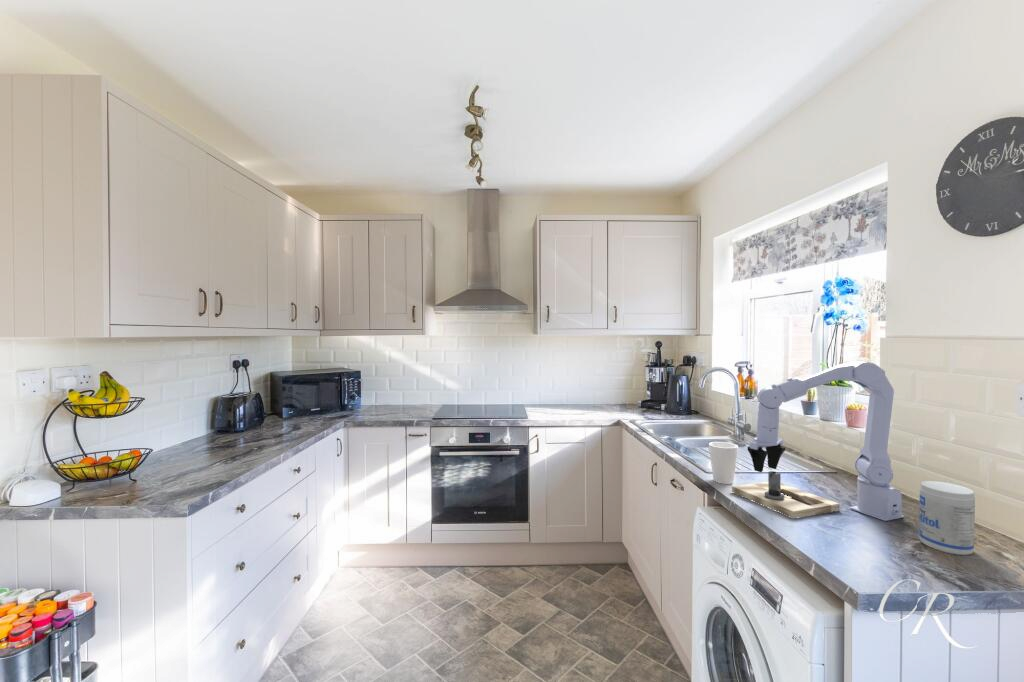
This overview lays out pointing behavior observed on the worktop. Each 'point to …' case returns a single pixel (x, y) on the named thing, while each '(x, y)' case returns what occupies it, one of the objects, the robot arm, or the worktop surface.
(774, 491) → the peg
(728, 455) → the foam cup
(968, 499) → the supplement tub
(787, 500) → the keyhole board
